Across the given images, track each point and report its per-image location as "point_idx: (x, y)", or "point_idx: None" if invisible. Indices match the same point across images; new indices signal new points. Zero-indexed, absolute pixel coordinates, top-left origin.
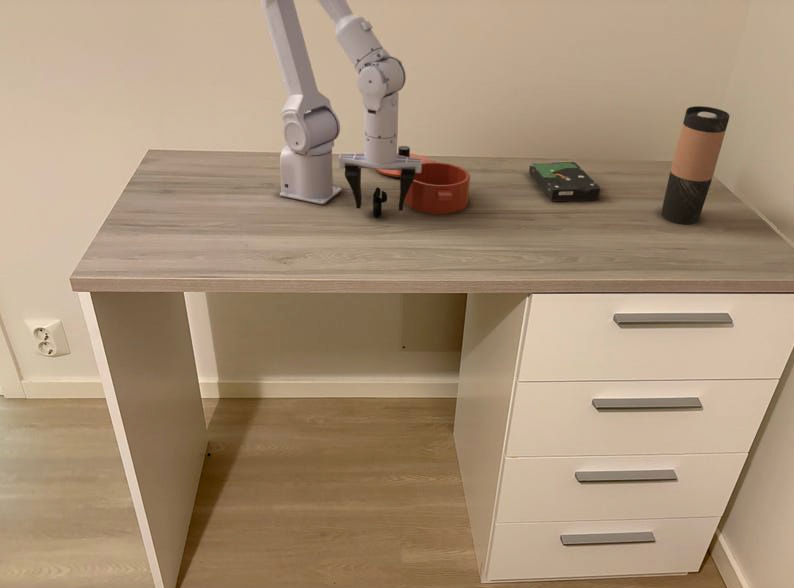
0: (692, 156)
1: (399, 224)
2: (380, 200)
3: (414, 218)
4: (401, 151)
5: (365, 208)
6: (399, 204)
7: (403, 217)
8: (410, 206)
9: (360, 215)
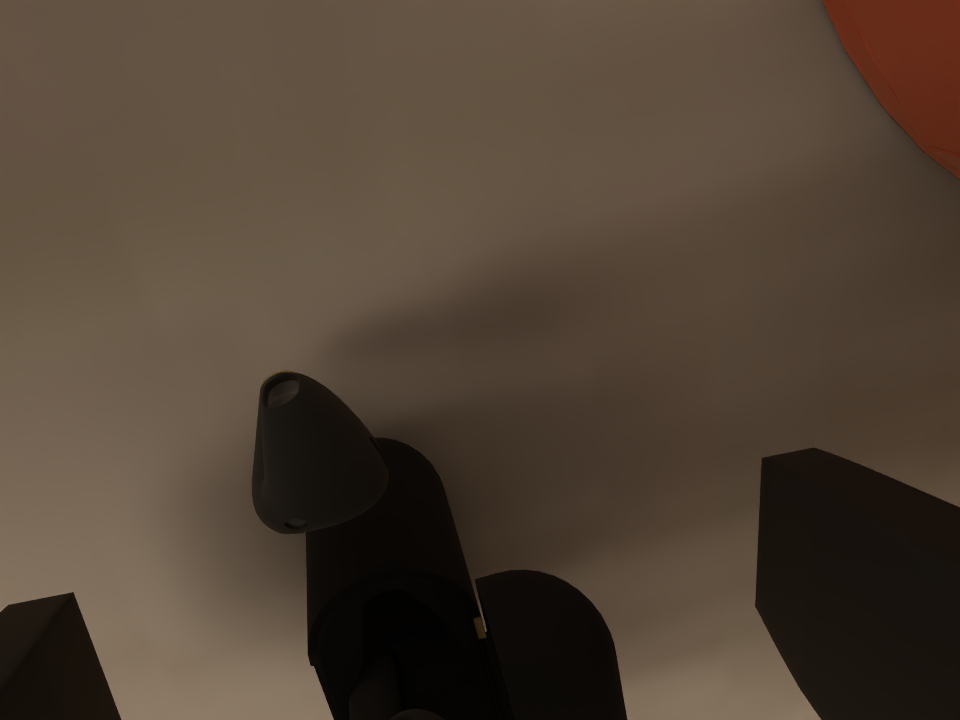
0: None
1: (718, 658)
2: (482, 707)
3: (903, 447)
4: None
5: (118, 353)
6: (827, 712)
7: None
8: (881, 91)
9: (143, 610)
